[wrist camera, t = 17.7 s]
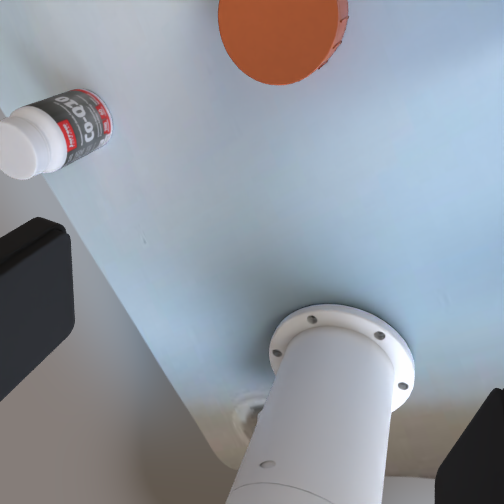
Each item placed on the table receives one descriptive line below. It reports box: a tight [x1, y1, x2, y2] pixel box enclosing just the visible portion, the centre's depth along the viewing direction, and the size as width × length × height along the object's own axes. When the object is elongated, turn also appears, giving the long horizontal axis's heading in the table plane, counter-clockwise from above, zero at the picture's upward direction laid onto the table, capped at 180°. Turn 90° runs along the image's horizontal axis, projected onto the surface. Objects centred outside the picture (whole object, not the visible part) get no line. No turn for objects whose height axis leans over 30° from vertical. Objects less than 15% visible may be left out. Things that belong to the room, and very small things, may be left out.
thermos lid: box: [218, 0, 349, 85], centre depth 27 cm, size 7×7×3 cm
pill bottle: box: [0, 89, 113, 180], centre depth 34 cm, size 5×5×8 cm
